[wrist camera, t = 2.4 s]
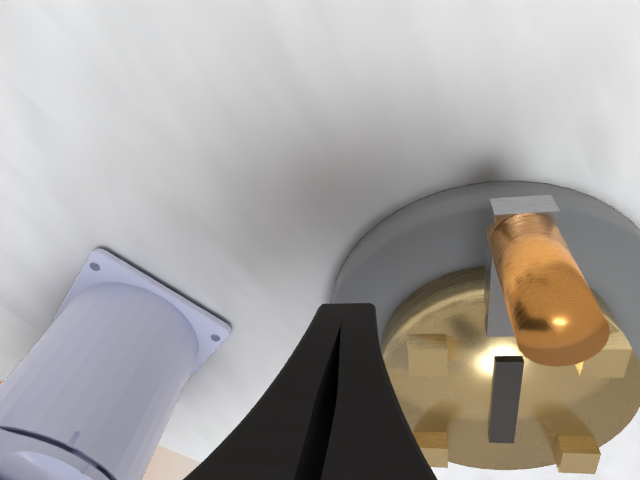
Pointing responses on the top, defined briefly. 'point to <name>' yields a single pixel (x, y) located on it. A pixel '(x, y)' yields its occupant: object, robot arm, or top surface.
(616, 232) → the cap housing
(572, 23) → the top surface
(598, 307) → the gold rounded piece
